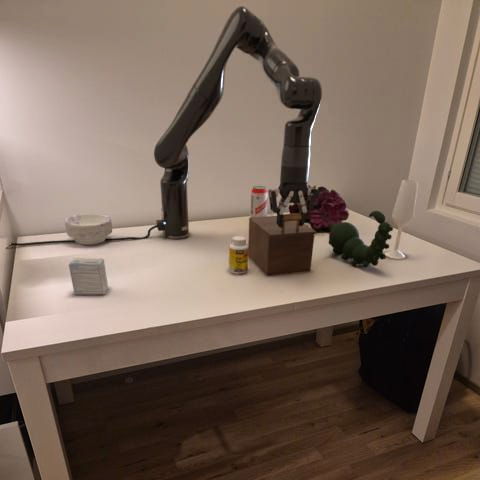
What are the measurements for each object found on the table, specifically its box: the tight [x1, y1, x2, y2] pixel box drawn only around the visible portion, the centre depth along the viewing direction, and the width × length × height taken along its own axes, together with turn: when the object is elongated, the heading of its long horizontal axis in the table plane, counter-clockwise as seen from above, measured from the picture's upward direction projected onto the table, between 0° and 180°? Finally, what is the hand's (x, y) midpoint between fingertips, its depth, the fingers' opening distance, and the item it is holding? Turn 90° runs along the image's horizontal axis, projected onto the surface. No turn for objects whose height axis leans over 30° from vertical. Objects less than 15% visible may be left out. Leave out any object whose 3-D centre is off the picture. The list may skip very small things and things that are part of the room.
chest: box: [247, 219, 315, 277], centre depth 129 cm, size 18×14×12 cm
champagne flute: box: [384, 179, 419, 260], centre depth 135 cm, size 7×7×24 cm
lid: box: [248, 213, 317, 238], centre depth 125 cm, size 18×14×6 cm
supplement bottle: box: [228, 235, 249, 275], centre depth 123 cm, size 6×6×10 cm
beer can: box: [249, 185, 269, 218], centre depth 160 cm, size 6×6×16 cm
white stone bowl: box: [64, 213, 113, 246], centre depth 146 cm, size 15×15×8 cm
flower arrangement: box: [288, 184, 350, 233], centre depth 170 cm, size 31×20×15 cm, turn 22°
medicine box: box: [68, 257, 109, 296], centre depth 109 cm, size 8×4×9 cm, turn 92°
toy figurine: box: [327, 210, 394, 268], centre depth 131 cm, size 9×19×25 cm
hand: (290, 225), depth 119 cm, fingers closed on lid, 5 cm apart
